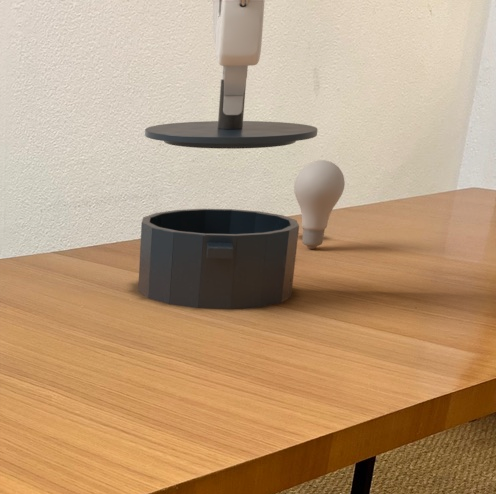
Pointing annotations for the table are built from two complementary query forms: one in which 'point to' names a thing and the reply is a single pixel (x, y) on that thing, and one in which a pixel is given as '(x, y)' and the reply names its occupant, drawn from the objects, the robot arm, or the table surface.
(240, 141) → the pot lid
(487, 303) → the table surface
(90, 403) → the table surface
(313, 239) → the lightbulb
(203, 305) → the pot
